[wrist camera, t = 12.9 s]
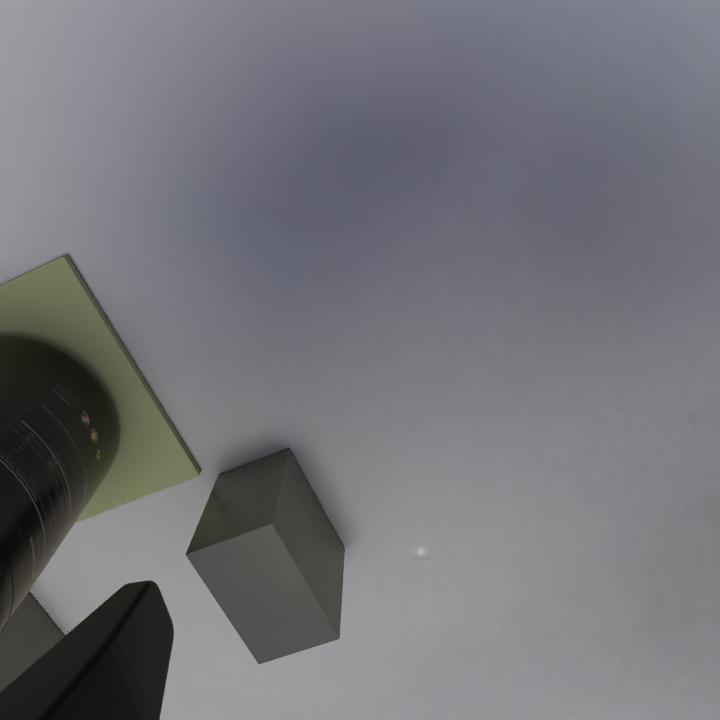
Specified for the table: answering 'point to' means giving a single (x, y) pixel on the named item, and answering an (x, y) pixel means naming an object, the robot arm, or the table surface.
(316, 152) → the table surface
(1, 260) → the table surface
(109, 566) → the table surface
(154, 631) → the robot arm
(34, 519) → the supplement bottle
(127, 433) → the mat
